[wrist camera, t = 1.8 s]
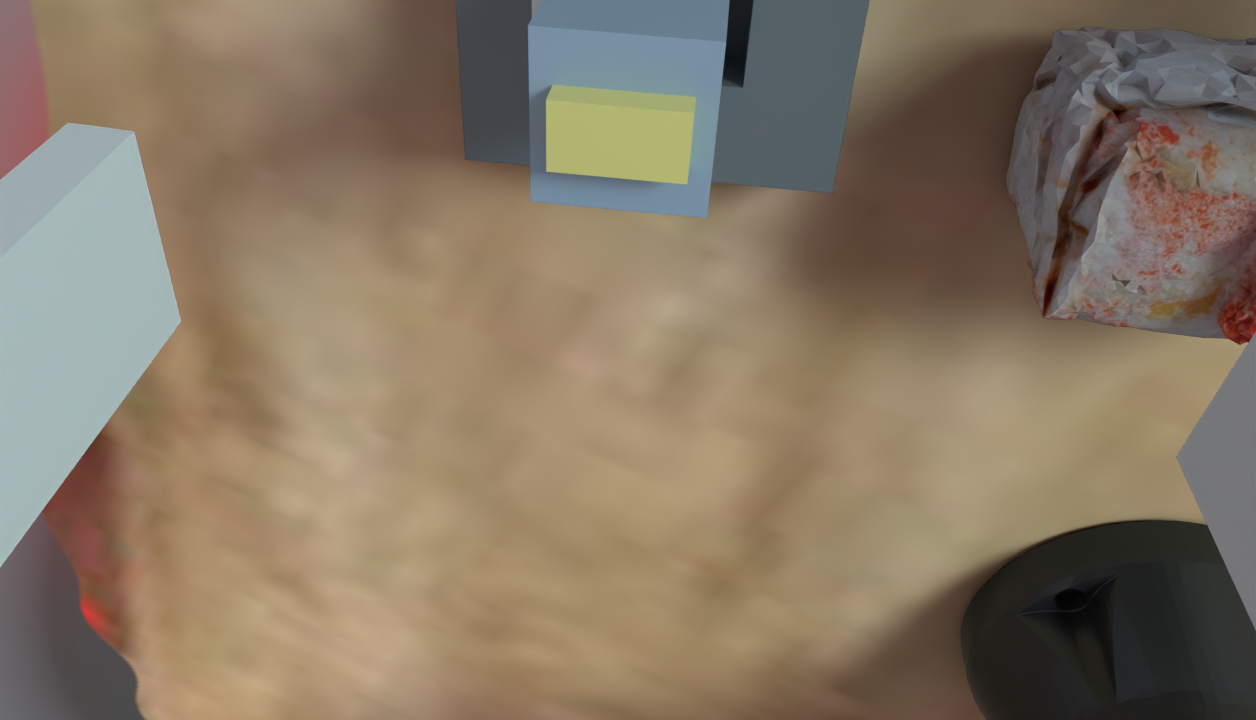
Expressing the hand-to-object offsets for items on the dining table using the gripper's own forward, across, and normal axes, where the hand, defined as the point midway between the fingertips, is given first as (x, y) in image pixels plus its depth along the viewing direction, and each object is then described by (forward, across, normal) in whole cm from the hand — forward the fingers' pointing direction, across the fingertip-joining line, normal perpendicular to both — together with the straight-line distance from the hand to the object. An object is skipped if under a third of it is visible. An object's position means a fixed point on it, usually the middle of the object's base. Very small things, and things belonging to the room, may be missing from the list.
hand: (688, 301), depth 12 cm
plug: (+22, +1, +3) cm, 22 cm away
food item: (+22, -17, +6) cm, 29 cm away
